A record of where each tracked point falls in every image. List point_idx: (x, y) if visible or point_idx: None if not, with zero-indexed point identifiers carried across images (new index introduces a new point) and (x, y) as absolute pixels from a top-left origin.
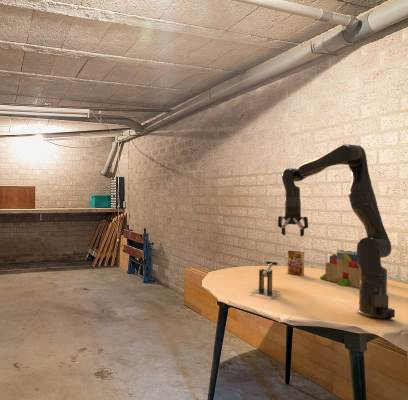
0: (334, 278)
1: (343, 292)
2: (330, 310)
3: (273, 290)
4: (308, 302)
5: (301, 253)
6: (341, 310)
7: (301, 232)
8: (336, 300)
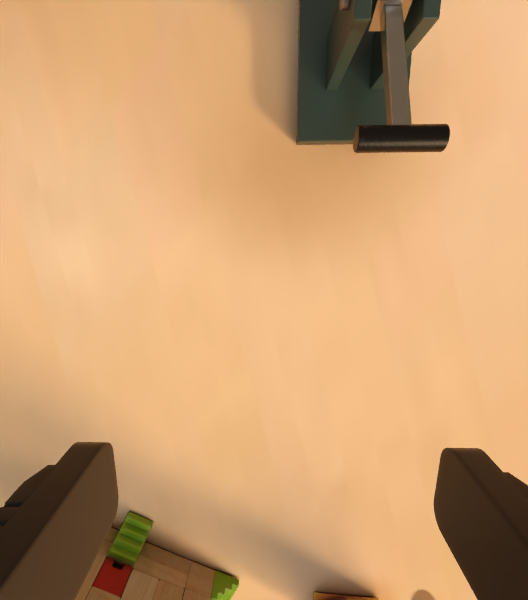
0: (172, 570)
1: (100, 398)
2: (39, 12)
3: (329, 134)
4: (151, 87)
5: None
6: (9, 56)
7: (25, 507)
8: (77, 230)
